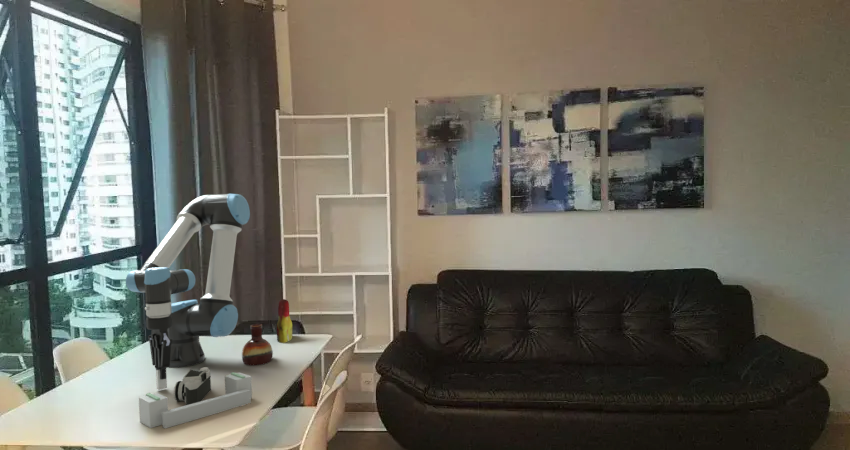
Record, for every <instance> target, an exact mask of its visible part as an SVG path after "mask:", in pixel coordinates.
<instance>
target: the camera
mask: <svg viewBox="0 0 850 450" xmlns="http://www.w3.org/2000/svg"><path fill="white" fill-rule="evenodd" d="M211 376H212V375H211V369H209V367H207V366H205V367H204V366H203V367H201V368H199V370H195V369H194V370H193V369H189V370H188V371H187V372H186V374H185V375H184V376H183V378H182V379H181V380H179V381H176V382H175V384H174V388H173V398H174V400H175V401H176V402H182V401H183V402H184V404H185V406H186V405H189V404H193V403H197V402H200V401H204V400H205V398H206V397H207V395H209V393H210V392H211V391H212V386H211V385H212V381H211V378H212V377H211Z"/></svg>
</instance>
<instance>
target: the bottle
mask: <svg viewBox="0 0 850 450" xmlns="http://www.w3.org/2000/svg"><path fill="white" fill-rule="evenodd" d="M277 314H278V321H277V322H276V341H277V343H280V344H285V343H288V342H289V341H291V340H292V338H293V322H292V320H291V317H290V304H289V301H288V299H285V298H282V299H280V300H279V302H278V308H277Z"/></svg>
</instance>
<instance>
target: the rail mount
mask: <svg viewBox="0 0 850 450" xmlns="http://www.w3.org/2000/svg"><path fill="white" fill-rule="evenodd" d="M224 384H225V385H224V387H225V388H224V389H225V394H223V395H220V396H215V397H212V398H207V399H203V400H202V401H200V402H197V403H193V404H189V405H186V404H185V405H183V406H178V407H175V408H172V409H169V404H168V403H169V402H168V400H169V399H168V397H167V396H165V395H162V394H160V393H158V392H155V393H151V392H148V393H145V395H143V396H138V407H139V412H138V413H139V423H141V424H143V425H144V426H146V427H148V428H149V429H152V428H155V427H158V426H162V428H163V429H168V428H171V427H175V426H179V425H181V424H185V423H188V422H191V421H195V420H199V419H201V418H205V417H209V416H212V415H215V414H218V413H221V412H222V413H223V412H225V411H229V410H232V409H235V408H240V407H243V406H246V405H245V404H247V405H249V404H248V403H250V404H251V403H252V402H251V401H252V400H251V399H252V398H253V389H252V387H253V386H252V375H249V374H245V373H243V372H234V371H233V372H230V374H228V375H224ZM242 405H243V406H242ZM239 406H240V407H239Z"/></svg>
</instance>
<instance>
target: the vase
mask: <svg viewBox="0 0 850 450" xmlns="http://www.w3.org/2000/svg"><path fill="white" fill-rule="evenodd" d="M262 333H263V324H262V323H253V324H251V325H250V335H251V338H250V340H247V342H246V343H245V344H244V346H243V347H242V351H241V360H242V362H243V364H244V365H246V366H261V365H265V364H268V363H271V362H272V359H273V355H274V353H273V352H274V350H273V347H272V345H271V344H270V342H269V341H268V340H267V339H265V338H264V337H263V334H262Z"/></svg>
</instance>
